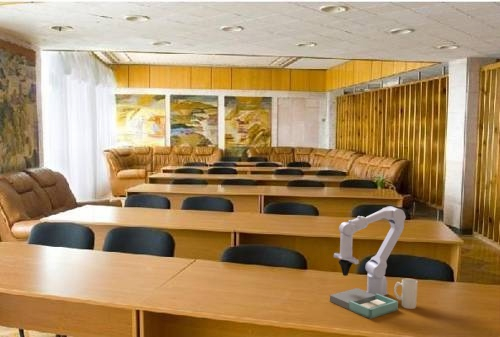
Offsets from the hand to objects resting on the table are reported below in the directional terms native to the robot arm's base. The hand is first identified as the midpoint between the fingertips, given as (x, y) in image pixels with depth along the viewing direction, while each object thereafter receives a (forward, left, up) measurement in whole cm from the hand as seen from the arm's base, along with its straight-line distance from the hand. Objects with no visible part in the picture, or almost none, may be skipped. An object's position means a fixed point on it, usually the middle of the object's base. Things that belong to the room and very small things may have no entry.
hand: (345, 275), depth 228 cm
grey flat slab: (+2, +7, -10) cm, 13 cm away
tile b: (+5, +19, -8) cm, 21 cm away
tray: (+2, +19, -10) cm, 22 cm away
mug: (-14, +24, -11) cm, 30 cm away
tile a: (-2, +19, -8) cm, 20 cm away
